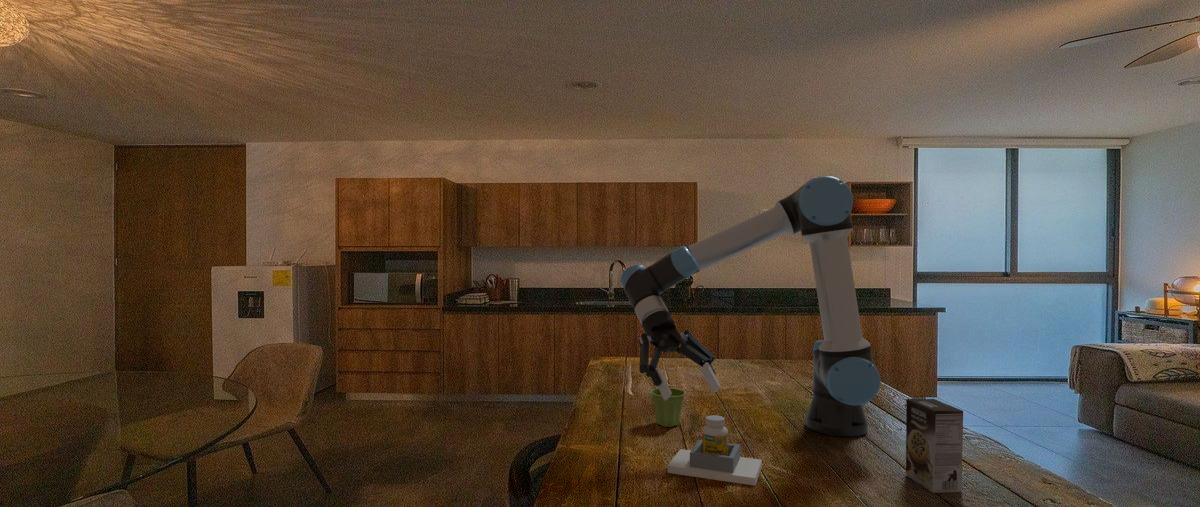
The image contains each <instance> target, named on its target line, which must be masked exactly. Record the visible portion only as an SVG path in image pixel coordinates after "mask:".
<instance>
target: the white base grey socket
mask: <svg viewBox="0 0 1200 507" xmlns="http://www.w3.org/2000/svg"><path fill="white" fill-rule="evenodd" d="M762 467H763V460H762V459H758V458H751V457H743V456H741V444H736V443H729V442H728V456H724V455H716V454H708V453H703V439H698V440H697V442H696V443H695V445H694V446H693V447H692V449H691V450H689V449H683V448H680V449H679V450H678V451H677V453H676V454H675V455H674V457H673V458H672V460H670V462H669V463H668V464H667V473H668V474H674V475H679V476H687V477H695V478H701V479H707V480H715V481H721V482H726V483H727V482H728V483H733V484H734V483H736V484H740V485H741V484H742V485H749V486H753V487H755V486H756V484H757V483H758V482H757V481H758V479H759V476H760V473H761V470H762Z"/></svg>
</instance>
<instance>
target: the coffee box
mask: <svg viewBox="0 0 1200 507" xmlns="http://www.w3.org/2000/svg"><path fill="white" fill-rule="evenodd" d="M905 400H906V403H905V404H906V406H905V408H906V409H905V410H906V413H905V417H906V418H905V419H906V422H905V425H906V426H905V427H906V428H905V433H906V434H905V444H906V445H905V476H906V477H908V478H910V479H911V480H913V481H914V482H915V483H917V484H919V485H921V487H923V488H925V489H926V490H928V491H929V492H930V493H933V494H934V493H937V494H938V493H939V494H941V493H942V494H943V493H962V491H963V490H962V484H963V482H962V481H963V477H962V476H963V445H964V444H963V441H964V438H963V437H964V410H962V409H960V408H957V407H954V406H953V405H949V404H947V403H946V402H943V401H941V400H938V399H936V398H919V397H918V398H906V399H905Z"/></svg>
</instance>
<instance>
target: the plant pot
mask: <svg viewBox="0 0 1200 507" xmlns="http://www.w3.org/2000/svg"><path fill="white" fill-rule="evenodd" d="M669 388H670V390H671V392H672V394H671V396H670V397H669V398H668V400H664V399H663V397H662V395H661V393H660V390H659V388H658V387H656V388H653V389H651V390H650V394H651V397H652V399H653V406H654V407H653V408H654V412H655V413H654V415H655V423H656V425H660V426H661V427H665V428H668V427H669V428H673V427H675V426H676V427H677V426H678V427H679V425H680V421H681V420H680V419H681V413H682V406H683V401H684V398H685V396H686V395H687V394H686V391H685V390H683V389H679V388H675V387H669Z"/></svg>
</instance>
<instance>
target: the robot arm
mask: <svg viewBox="0 0 1200 507" xmlns="http://www.w3.org/2000/svg"><path fill="white" fill-rule="evenodd" d="M853 206H854V195H853V192H852V190H851V188H850V186H848V184H847V183H845V181H843V180H842V179H839V178H838V177H835V176H831V175H830V176H829V175H823V176H820V175H819V176H817V177H813V178H810V179H809V180H808V181H807V182H805V183H804V184H803V185H802V186H800V187H799V188H797V190H795V191H794V192H793V193H791V194H789V195H788V196H786V197H784V198H783V199H779V200H778V201H776V203H775V205H774V206H773V207H772V208H769V209H767V210H765V211H763V212H760V213H758V214H756V215H754V216H751V217H749V218H748V219H744V220H742V221H741V222H739V223H736V224H734V225H732V226H730V227H728V228H726V229H723V230H722V231H719V232H717V233H714V234H713V235H710V236H708V237H706V238H704V239H703V238H702V240H698V241H697V242H694V243H692V244H690V245H687V246H685V245H681V246H680V247H677V248H676V249H674V250H672V251H671V252H670V253H668V254H666V255H665V256H663V257H662V258H659V260H656V261H655V262H654V263H652V264H651V265H649V266H646V267H645V265H643V264H634V265H633V266H632V265H631V266H628V267H627V268H626V269H624V270H623V272H622V273H621V275H620V282H621V285H622V288H623V290H624V294H625V295H626V297H627V299H628V301H629V303H630V305H631V306H632V309H633V311H634V313H635V315H636V317H637V319H638V321H639V323H640V325H641V327H642V330H643V331H644V333H642V334H641V336H640V337H639V339H638V340H637V341H638V345H639V370H638V371H639V373H640V374H645V376H646V377H648V378H650V379H651V381H652V383H653V385H654V386H655V387H657V388H659V390H660V393H661V395H662V397H663V399H664V400H668V398H669V397H670V396H671V394H672V392H671V390H670V388H671V387H670V386H669V384H668V382H667V380H666V378H665V376H664V373H663V371H662V369H661V368H657V367H658V363H659V360H660V358H661V355H662V352H663V354H664V353H668V352H671V353H674V352H676V353H678V354H682V355H683V356H685V357H686V358H688V359H690V360H691V361H693V362H694V363H695V364H697V365H699V366H700V367H701V368H700V371H701V373H702V375H703V377H704V379H705V381H706V382H707V384H708V387H709V389H710V390H711V393H713V394H715V393H717V391H718V390H719V389H720V388H721V387H722V386H721V384H720V382H719V380H718V378H717V376H716V375H717V373H716V371H715V369H714V367H713V365H712V363H713V362H714V361H715V359H716V356H715V355H714V354H712V352H710V351H709V350H708V349H707V348H706V347H705V346H704V345H702V343H701V342H700V341H698V340H697V339H696V338H695V337H694V336H693V334H692V333H691V332H690V330H688V329H685V330H684V331H683V332H679V331H678V330H677V329H676V328H677V327H676V322H675V321H674V318H673V317H672V315H671V313H670V312H669V309H668V308H667V306H666V304H665V302H664V300H663V298H662V296H661V294H662V293H664V292H666V291H668V290H669V289H671V288H672V287H674V286H675V285H677V284H679V283H681V282H683V281H684V280H685V279H687V278H690V277H691V276H693V275H695V274H698V273H699V272H701V271H703V270H706V269H708V268H711V267H713V266H715V265H717V264H719V263H721V262H724V261H726V260H728V259H729V260H730V258H733V257H735V256H737V255H740V254H742V253H746V252H747V251H750V250H751V249H753V248H756V247H759V246H761V245H762V244H765V243H767V242H770V241H771V240H773V239H776V238H778V237H780V236H783V235H785V234H789V235H795V234H797V233H799V232H801V233H800V234H801V237H802V238H803V239H804V240H806V241H807V242H808V243H809V248H810V254H811V255H810V256H811V262H812V267H813V275H814V282H815V288H816V295H817V300H818V301H817V302H818V307H819V315H820V322H821V328H822V333H823V334H822V335H823V339H821V340H816V341H815V342H814V343H813V349H812V355H813V356H812V358H813V359H812V365H813V366H812V368H813V370H812V372H813V373H812V374H813V375H812V376H813V377H812V399H811V401H810V405H809V407H808V410H807V413H806V414H805V415H806V416H805V426H806V428H808V429H810V431H813V432H816V433H818V434H819V433H820V434H824V435H829V436H834V437H846V438H848V437H849V438H852V437H860V436H861V437H862V436H863V435H867V433H868V432H869V422H868V419H867V416H866V414H865V412H866V411H865V410H864V408H863V407H864V406H863V405H864V404H867V403H869V402H870V401H872V400H873V399H874V398H875V397H877V394H878V393H879V391H880V388H881V385H882V382H881V381H882V380H881V379H882V378H881V375H880V372H879V370H878V367H877V366H876V365H875V364H874V358H873V351H872V346H871V342H869V341H868V340H866V338H864V337H863V332H862V325H861V320H860V313H859V306H858V300H857V294H856V286H855V281H854V272H853V268H852V267H853V266H852V261H851V254H850V247H849V240H848V237H849V236H850V234H851V233H852V231H853V230H854V227H853V220H852V219H853V218H852V214H851V213H852V210H853ZM650 344H651V345H653V346H654V349H653V353H652V357H651V359H650V362H649V356H650V354H649V353H650Z"/></svg>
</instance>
